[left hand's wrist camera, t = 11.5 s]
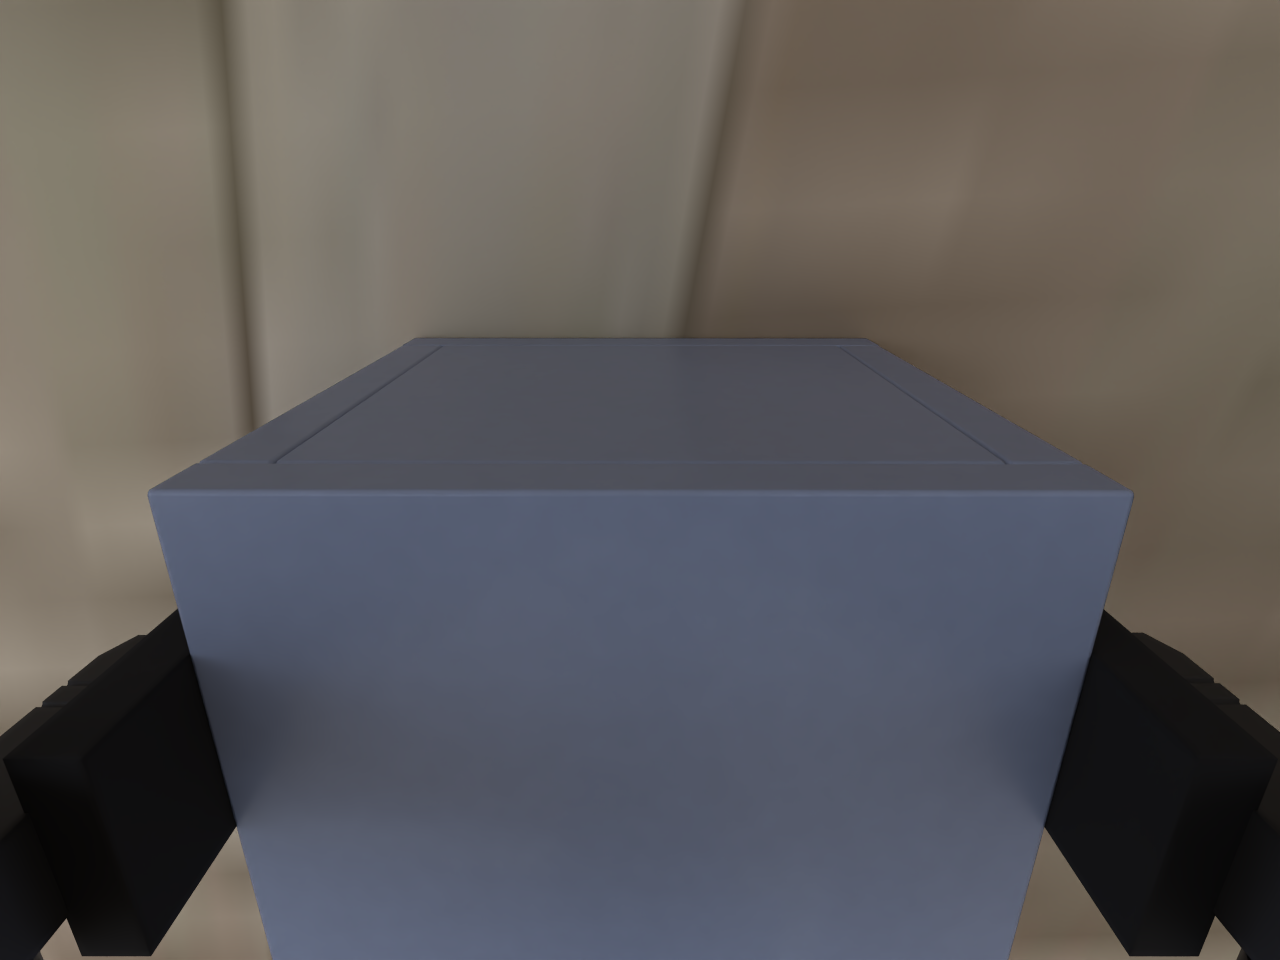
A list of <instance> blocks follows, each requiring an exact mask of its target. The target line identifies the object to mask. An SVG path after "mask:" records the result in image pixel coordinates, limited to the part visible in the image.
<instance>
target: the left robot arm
mask: <svg viewBox="0 0 1280 960" xmlns="http://www.w3.org/2000/svg"><path fill="white" fill-rule="evenodd" d="M1044 827H1045V828H1046V830H1047V831H1048V833H1049V834H1050V836H1051V837H1052V839H1053V840H1054V842H1055V843H1056V845H1057V847H1058V848H1059V850H1060V851H1061V853H1062V854H1063V856H1064V857H1065V859H1066V860H1067V862H1068V863H1069V865H1070V866H1071V868H1072V869H1073V871H1074V872H1075V874H1076V875H1077V877H1078V878H1079V880H1080V881H1081V883H1082V885H1083V886H1084V888H1085V889H1086V891H1087V892H1088V894H1089V895H1090V897H1091V898H1092V900H1093V901H1094V903H1095V904H1096V906H1097V907H1098V909H1099V910H1100V912H1101V913H1102V915H1103V916H1104V918H1105V920H1106V921H1107V923H1108V924H1109V926H1110V927H1111V929H1112V930H1113V932H1114V933H1115V935H1116V936H1117V938H1118V939H1119V941H1120V942H1121V944H1122V945H1123V947H1124V948H1125V950H1126V951H1127V953H1128V954H1129V956H1199V954H1200V952H1201V949H1202V947H1203V944H1204V942H1205V939H1206V937H1207V934H1208V932H1209V929H1210V927H1211V924H1212V922H1213V920H1214V917H1215V916H1216V917H1217V918H1218V919H1219V921H1220V922H1221V923H1222V924H1223V926H1224V927H1225V928H1226V929H1227V930H1228V932H1229V933H1230V934H1231V935H1232V937H1233V938H1234V939H1235V940H1236V942H1237V943H1238V944H1239V945H1240V946H1241V951H1240V953H1239V955H1238V957H1237V960H1280V732H1279V731H1278V730H1277V729H1275V728H1274V727H1273V726H1272V725H1270V724H1269V723H1268V722H1267V721H1265V720H1264V719H1263V718H1262V717H1261V716H1259V715H1258V714H1257V713H1256V712H1254V711H1253V710H1252V709H1251V708H1249V707H1248V706H1247V705H1241V704H1240V703H1239V699H1238V698H1237V697H1236V696H1235V695H1233V694H1232V693H1231V692H1230V691H1229V690H1227V689H1226V688H1225V687H1224V686H1222V685H1221V684H1220V683H1214V678H1213V677H1211V676H1210V675H1209V674H1208V673H1206V672H1205V671H1204V670H1203V669H1201V668H1200V667H1199V666H1198V665H1197V664H1195V663H1194V662H1193V661H1192V660H1190V659H1189V658H1188V657H1187V656H1185V655H1184V654H1183V653H1181V652H1179V651H1177V650H1175V649H1173V648H1171V647H1169V646H1168V645H1166V644H1164V643H1162V642H1160V641H1158V640H1156V639H1154V638H1152V637H1150V636H1148V635H1146V634H1145V633H1131V632H1130V631H1128V630H1127V629H1126V628H1125V627H1124V626H1123V625H1121V624H1120V623H1119V622H1118V621H1117V620H1116V619H1114V618H1113V617H1112V616H1111V615H1110V614H1109V613H1107V612H1106V611H1105V610H1104V609H1103V613H1102V616H1101V620H1100V624H1099V627H1098V631H1097V635H1096V638H1095V642H1094V646H1093V649H1092V653H1091V657H1090V660H1089V664H1088V668H1087V671H1086V675H1085V679H1084V682H1083V686H1082V690H1081V693H1080V697H1079V701H1078V705H1077V708H1076V712H1075V716H1074V719H1073V723H1072V727H1071V730H1070V734H1069V738H1068V741H1067V745H1066V749H1065V752H1064V756H1063V760H1062V763H1061V767H1060V771H1059V774H1058V778H1057V782H1056V785H1055V789H1054V793H1053V797H1052V800H1051V804H1050V808H1049V811H1048V815H1047V819H1046V822H1045V826H1044ZM235 828H236V822H235V818H234V814H233V811H232V807H231V803H230V800H229V796H228V792H227V788H226V785H225V781H224V777H223V774H222V770H221V766H220V763H219V759H218V755H217V751H216V748H215V744H214V740H213V737H212V733H211V729H210V725H209V722H208V718H207V714H206V711H205V707H204V703H203V699H202V696H201V692H200V688H199V685H198V681H197V677H196V673H195V670H194V666H193V662H192V659H191V655H190V651H189V647H188V644H187V640H186V636H185V633H184V629H183V625H182V621H181V618H180V614H179V610H178V609H177V610H176V611H174V612H173V613H172V614H171V615H170V616H169V617H167V618H166V619H165V620H164V621H163V622H162V623H160V624H159V625H158V626H157V627H156V628H155V629H153V630H152V631H151V632H150V633H149V634H148V635H138V636H136V637H134V638H132V639H130V640H128V641H126V642H124V643H122V644H120V645H119V646H117V647H115V648H113V649H111V650H109V651H107V652H105V653H103V654H101V655H100V656H98V657H97V658H95V659H94V660H93V661H92V662H91V663H89V664H88V665H87V666H86V667H84V668H83V669H82V670H81V671H80V672H78V673H77V674H76V675H75V676H73V677H72V678H71V679H70V680H69V681H68V685H67V686H61V687H60V688H59V689H58V690H56V691H55V692H54V693H53V694H51V695H50V696H49V697H48V698H47V699H45V700H44V701H43V704H42V707H36V708H34V709H33V710H32V711H31V712H29V713H28V714H27V715H26V716H25V717H23V718H22V719H21V720H20V721H18V722H17V723H16V724H15V725H14V726H12V727H11V728H10V729H9V730H7V731H6V732H5V733H4V734H3V735H1V736H0V960H43V957H42V955H41V953H40V950H41V949H42V948H43V946H44V945H45V944H46V943H47V942H48V940H49V939H50V938H51V937H52V935H53V934H54V933H55V932H56V930H57V929H58V928H59V927H60V926H61V924H62V923H63V922H64V921H65V919H66V918H67V920H68V923H69V925H70V928H71V930H72V933H73V935H74V938H75V940H76V943H77V945H78V947H79V950H80V952H81V955H82V956H151V955H152V954H153V952H154V951H155V949H156V948H157V946H158V945H159V943H160V942H161V940H162V939H163V937H164V936H165V934H166V933H167V931H168V929H169V928H170V926H171V925H172V923H173V922H174V920H175V919H176V917H177V916H178V914H179V913H180V911H181V910H182V908H183V907H184V905H185V904H186V902H187V901H188V899H189V898H190V896H191V895H192V893H193V891H194V890H195V888H196V887H197V885H198V884H199V882H200V881H201V879H202V878H203V876H204V875H205V873H206V872H207V870H208V869H209V867H210V866H211V864H212V863H213V861H214V860H215V858H216V856H217V855H218V853H219V852H220V850H221V849H222V847H223V846H224V844H225V843H226V841H227V840H228V838H229V837H230V835H231V834H232V832H233V831H234V829H235Z"/></svg>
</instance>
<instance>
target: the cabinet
mask: <svg viewBox="0 0 1280 960" xmlns="http://www.w3.org/2000/svg"><path fill="white" fill-rule="evenodd" d="M1133 498H1134V493H1133V492H1132V491H1131V490H1130V489H1128V488H1126V487H1124V486H1123V485H1121V484H1119V483H1117V482H1116V481H1114V480H1112V479H1110V478H1109V477H1107V476H1105V475H1103V474H1102V473H1100V472H1098V471H1096V470H1095V469H1093V468H1091V467H1089V466H1087V465H1085V464H1082V463H1081V462H1080V461H1079V460H1077V459H1075V458H1073V457H1072V456H1070V455H1068V454H1066V453H1065V452H1063V451H1061V450H1059V449H1058V448H1056V447H1054V446H1052V445H1051V444H1049V443H1047V442H1045V441H1044V440H1042V439H1040V438H1038V437H1037V436H1035V435H1033V434H1031V433H1030V432H1028V431H1026V430H1024V429H1023V428H1021V427H1019V426H1017V425H1016V424H1014V423H1012V422H1010V421H1009V420H1007V419H1005V418H1003V417H1002V416H1000V415H998V414H996V413H995V412H993V411H991V410H989V409H988V408H986V407H984V406H982V405H981V404H979V403H977V402H975V401H974V400H972V399H970V398H969V397H967V396H965V395H963V394H962V393H960V392H958V391H956V390H955V389H953V388H951V387H949V386H948V385H946V384H944V383H942V382H941V381H939V380H937V379H935V378H934V377H932V376H930V375H928V374H927V373H925V372H923V371H921V370H920V369H918V368H916V367H914V366H913V365H911V364H909V363H907V362H906V361H904V360H902V359H900V358H899V357H897V356H895V355H893V354H892V353H890V352H888V351H886V350H885V349H883V348H881V347H879V345H877V344H875V343H873V342H872V341H870V340H868V339H866V338H415V339H413V340H411V341H409V342H408V343H406V344H404V345H403V346H402V347H400V348H398V349H396V350H395V351H393V352H391V353H389V354H388V355H386V356H384V357H382V358H381V359H379V360H377V361H375V362H373V363H372V364H370V365H368V366H366V367H365V368H363V369H361V370H359V371H358V372H356V373H354V374H352V375H351V376H349V377H347V378H345V379H344V380H342V381H340V382H338V383H337V384H335V385H333V386H331V387H330V388H328V389H326V390H324V391H323V392H321V393H319V394H317V395H316V396H314V397H312V398H310V399H309V400H307V401H305V402H303V403H302V404H300V405H298V406H296V407H295V408H293V409H291V410H289V411H288V412H286V413H284V414H282V415H281V416H279V417H277V418H275V419H274V420H272V421H270V422H268V423H266V424H265V425H263V426H261V427H259V428H258V429H256V430H254V431H252V432H251V433H249V434H247V435H245V436H244V437H242V438H240V439H238V440H237V441H235V442H233V443H231V444H230V445H228V446H226V447H224V448H223V449H221V450H219V451H217V452H216V453H214V454H212V455H210V456H209V457H207V458H205V459H203V460H202V461H200V463H197V464H194V465H192V466H190V467H189V468H187V469H185V470H183V471H182V472H180V473H178V474H176V475H175V476H173V477H171V478H169V479H168V480H166V481H164V482H162V483H160V484H159V485H157V486H155V487H153V488H152V489H150V490H149V491H148V499H149V503H150V506H151V510H152V514H153V517H154V521H155V525H156V529H157V532H158V536H159V540H160V543H161V547H162V551H163V555H164V558H165V562H166V566H167V569H168V573H169V577H170V581H171V584H172V588H173V592H174V595H175V599H176V603H177V607H178V610H179V614H180V618H181V621H182V625H183V629H184V633H185V636H186V640H187V644H188V647H189V651H190V655H191V659H192V662H193V666H194V670H195V673H196V677H197V681H198V685H199V688H200V692H201V696H202V699H203V703H204V707H205V711H206V714H207V718H208V722H209V725H210V729H211V733H212V737H213V740H214V744H215V748H216V751H217V755H218V759H219V763H220V766H221V770H222V774H223V777H224V781H225V785H226V788H227V792H228V796H229V800H230V803H231V807H232V811H233V814H234V818H235V822H236V826H237V829H238V833H239V837H240V840H241V844H242V848H243V852H244V855H245V859H246V863H247V866H248V870H249V874H250V878H251V881H252V885H253V889H254V892H255V896H256V900H257V904H258V907H259V911H260V915H261V918H262V922H263V926H264V930H265V933H266V937H267V941H268V944H269V948H270V952H271V956H272V959H273V960H1008V958H1009V955H1010V951H1011V947H1012V944H1013V940H1014V936H1015V933H1016V929H1017V925H1018V922H1019V918H1020V914H1021V911H1022V907H1023V903H1024V900H1025V896H1026V892H1027V888H1028V885H1029V881H1030V877H1031V874H1032V870H1033V866H1034V863H1035V859H1036V855H1037V852H1038V848H1039V844H1040V841H1041V837H1042V833H1043V830H1044V826H1045V822H1046V819H1047V815H1048V811H1049V808H1050V804H1051V800H1052V797H1053V793H1054V789H1055V785H1056V782H1057V778H1058V774H1059V771H1060V767H1061V763H1062V760H1063V756H1064V752H1065V749H1066V745H1067V741H1068V738H1069V734H1070V730H1071V727H1072V723H1073V719H1074V716H1075V712H1076V708H1077V705H1078V701H1079V697H1080V693H1081V690H1082V686H1083V682H1084V679H1085V675H1086V671H1087V668H1088V664H1089V660H1090V657H1091V653H1092V649H1093V646H1094V642H1095V638H1096V635H1097V631H1098V627H1099V624H1100V620H1101V616H1102V613H1103V609H1104V605H1105V602H1106V598H1107V594H1108V590H1109V587H1110V583H1111V579H1112V576H1113V572H1114V568H1115V565H1116V561H1117V557H1118V554H1119V550H1120V546H1121V543H1122V539H1123V535H1124V532H1125V528H1126V524H1127V521H1128V517H1129V513H1130V510H1131V506H1132V502H1133Z"/></svg>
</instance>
